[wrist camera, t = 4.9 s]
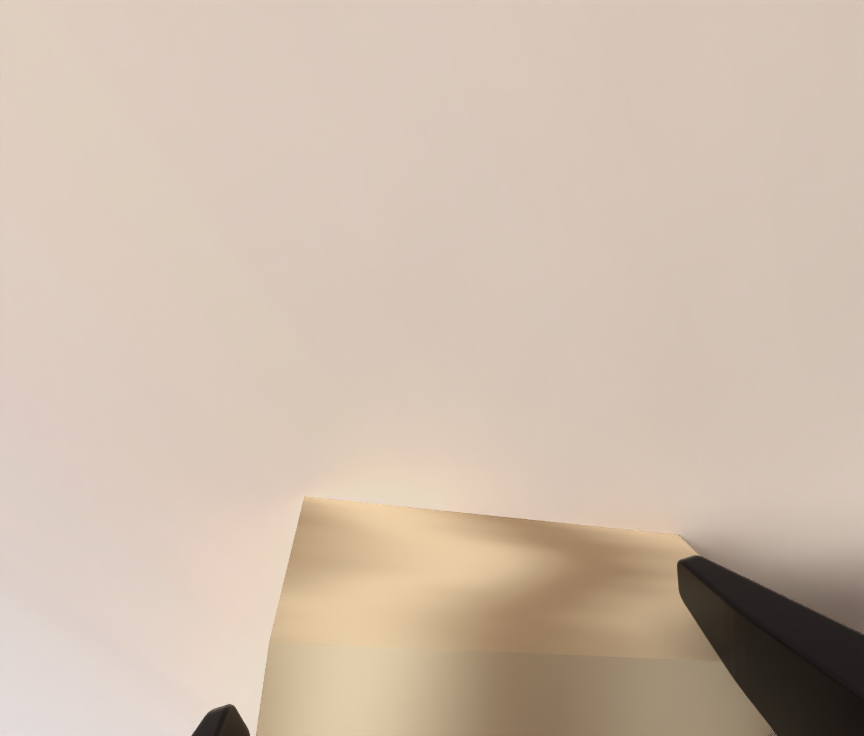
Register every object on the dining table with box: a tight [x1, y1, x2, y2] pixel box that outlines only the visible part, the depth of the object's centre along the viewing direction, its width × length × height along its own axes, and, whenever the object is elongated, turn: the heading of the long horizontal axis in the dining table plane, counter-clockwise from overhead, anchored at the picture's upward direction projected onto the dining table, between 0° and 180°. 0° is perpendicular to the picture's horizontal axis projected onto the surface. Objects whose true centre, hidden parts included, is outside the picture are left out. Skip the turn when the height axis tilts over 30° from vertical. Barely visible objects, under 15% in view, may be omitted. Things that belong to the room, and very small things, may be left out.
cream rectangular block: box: [256, 497, 772, 736], centre depth 10 cm, size 10×8×4 cm
